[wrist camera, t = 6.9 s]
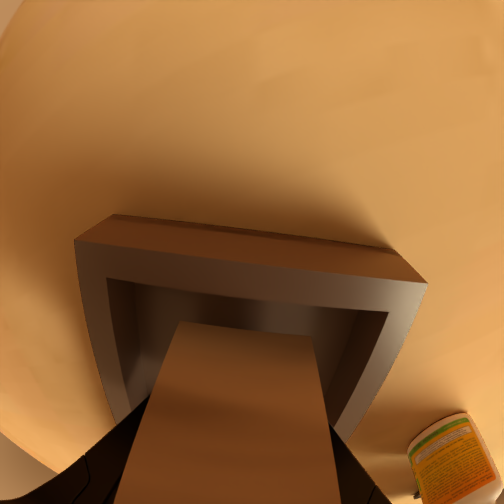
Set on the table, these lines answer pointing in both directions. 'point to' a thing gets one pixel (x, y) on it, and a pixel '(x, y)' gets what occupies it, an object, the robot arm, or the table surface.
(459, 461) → the supplement bottle
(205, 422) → the walnut block
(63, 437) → the table surface
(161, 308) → the tray
